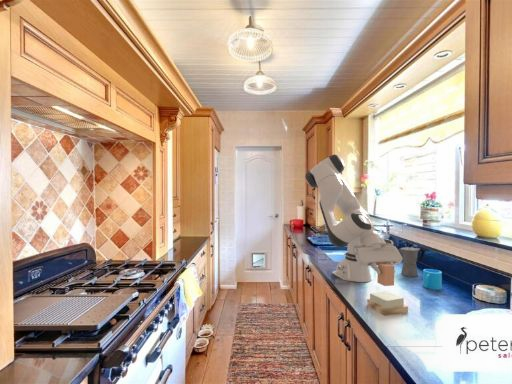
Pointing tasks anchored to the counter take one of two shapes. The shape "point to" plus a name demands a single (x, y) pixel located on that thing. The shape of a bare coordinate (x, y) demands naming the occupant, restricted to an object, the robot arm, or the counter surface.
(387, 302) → the tower top
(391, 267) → the tall block
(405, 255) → the coffeepot
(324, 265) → the counter surface
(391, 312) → the tower base
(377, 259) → the robot arm
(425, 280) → the mug
